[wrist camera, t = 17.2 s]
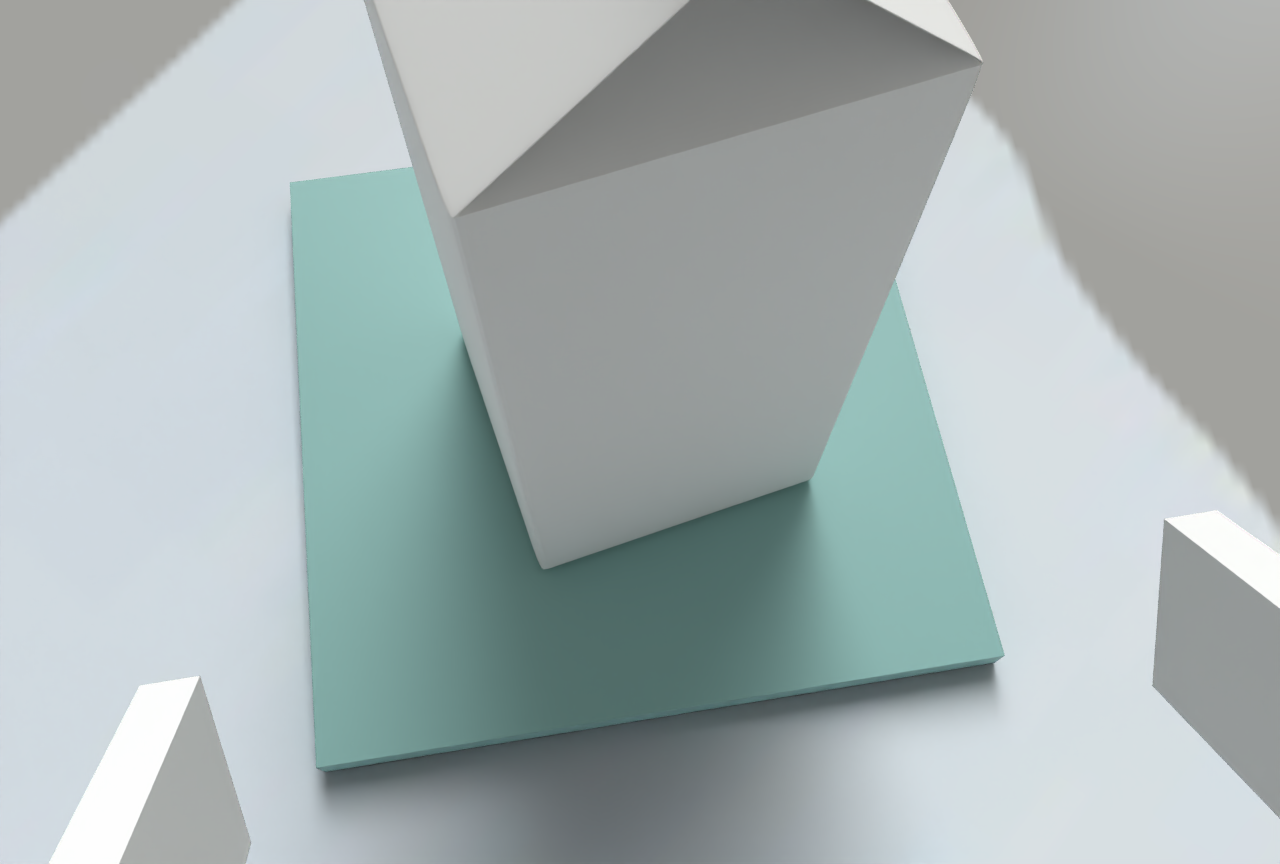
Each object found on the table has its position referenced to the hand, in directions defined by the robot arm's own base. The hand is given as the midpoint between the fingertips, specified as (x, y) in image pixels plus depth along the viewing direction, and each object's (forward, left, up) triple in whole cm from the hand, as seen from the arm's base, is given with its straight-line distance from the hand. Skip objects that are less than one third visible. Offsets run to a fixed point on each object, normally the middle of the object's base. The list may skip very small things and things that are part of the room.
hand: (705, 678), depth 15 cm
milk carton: (0, +9, -11) cm, 14 cm away
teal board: (0, +9, -12) cm, 15 cm away
